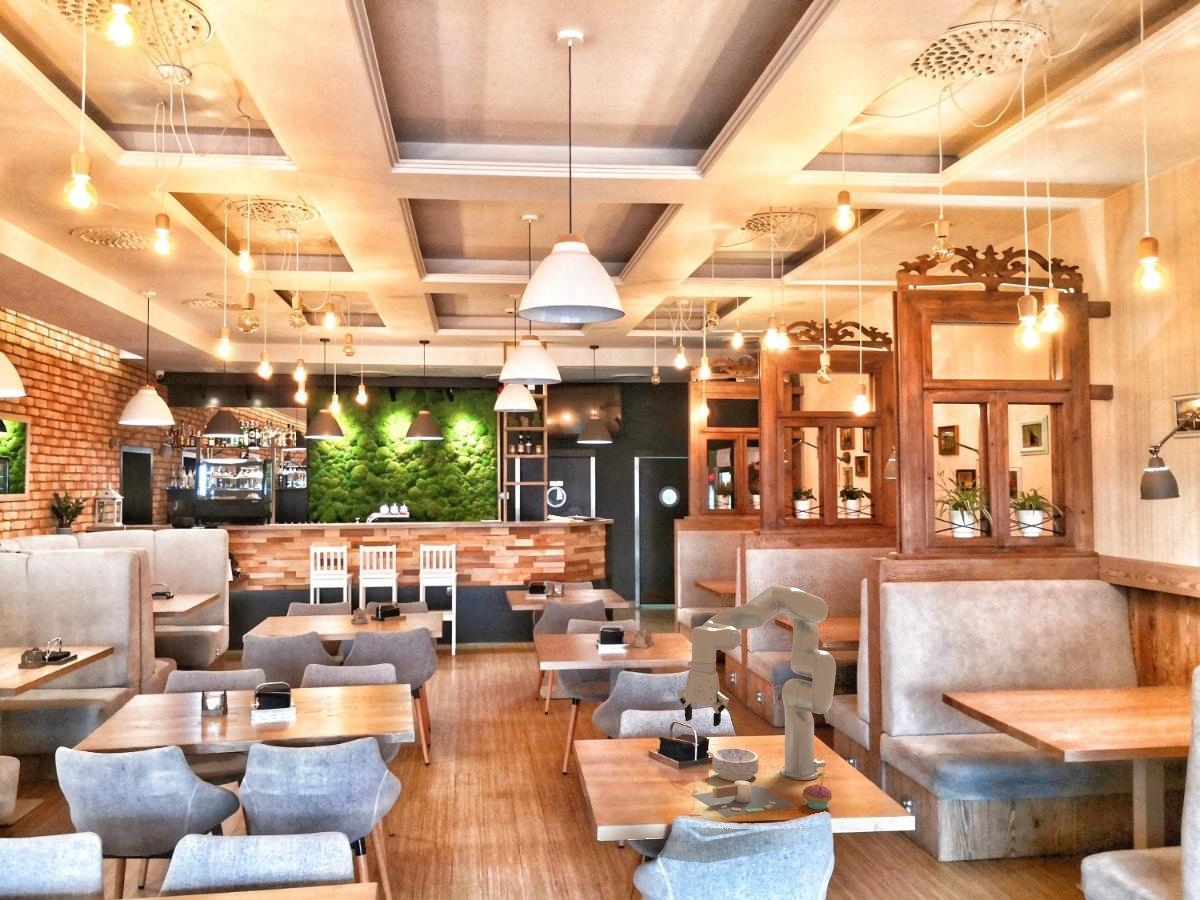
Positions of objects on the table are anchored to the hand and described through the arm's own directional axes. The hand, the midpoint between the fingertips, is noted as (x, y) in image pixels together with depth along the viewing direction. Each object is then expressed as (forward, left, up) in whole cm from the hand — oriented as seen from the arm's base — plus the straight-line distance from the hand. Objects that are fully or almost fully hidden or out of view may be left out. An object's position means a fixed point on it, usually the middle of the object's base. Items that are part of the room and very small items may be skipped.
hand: (702, 722), depth 285 cm
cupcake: (-27, +21, -24) cm, 42 cm away
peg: (-5, +8, -22) cm, 24 cm away
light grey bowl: (-20, -13, -24) cm, 34 cm away
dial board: (-9, +8, -23) cm, 26 cm away
